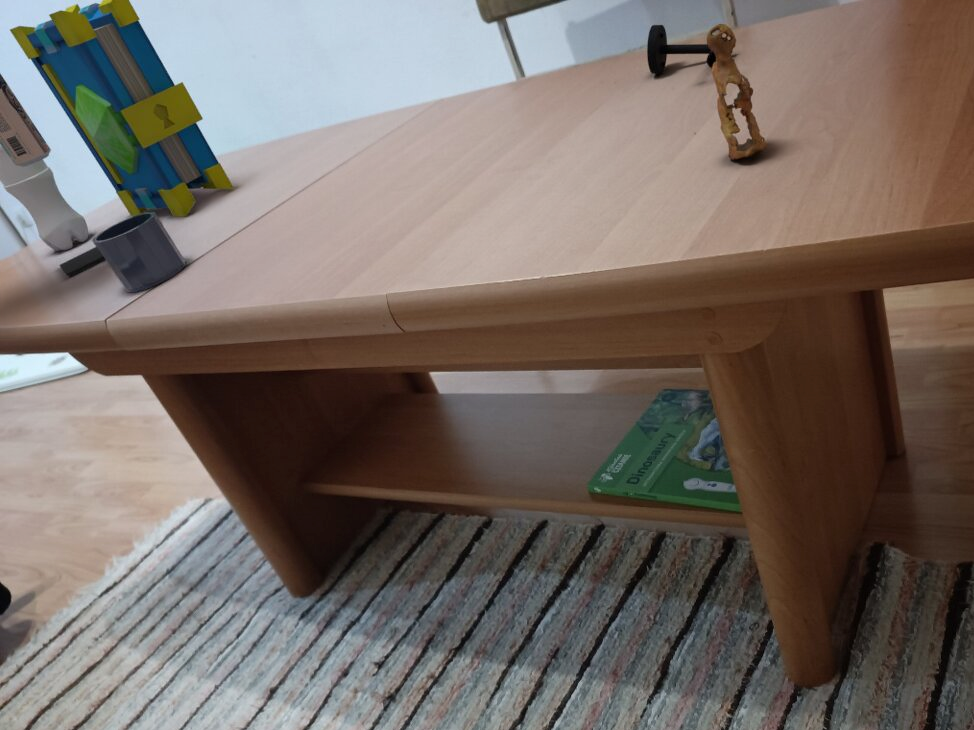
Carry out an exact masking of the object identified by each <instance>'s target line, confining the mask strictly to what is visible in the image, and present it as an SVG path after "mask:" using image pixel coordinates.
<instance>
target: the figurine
mask: <svg viewBox="0 0 974 730" xmlns="http://www.w3.org/2000/svg"><path fill="white" fill-rule="evenodd" d="M717 31H719V32H718V33H716V34H713V33H715V32H717ZM723 35H725V36H723ZM728 38H729V39H728ZM706 44H707V45H708V47H709V48H710V49H711V50H712V51H713V52H714V53H715V56H716V62H715V63H714V64H713V66H712V68H711V75H712V78H713V80H714V83H715V87H716V92H717V94H718V97H717V100H716V107H717V113H718V117H719V120H720V130H721V132H722V134H723V136H724V139H725V140H726V143H727V145H728V155H727V156H728V158H729V159H730V160H732V161H733V160H739V159H743V158H749V157H750V158H751V157H752V156H754V155H755V154H756V153H760V152H763V150H766V147H767V145H768V144H767V142H766V139H765V137H764V136H762V135H761V133H760V132H761V130H760V128H759V124H758V122H757V119H756V116H755V114H754V113H753V112H752V110H753V102H752V96H754V95H753V94H754V88H753V87H751V83H750V80H749V78H748V77H746V76H745V75H743V74H742V73H741V71H740V70H739V68H738V66H737V64H736V61H735V59H734V58H733V55H732V54H731V51H732V49H733V50H734V49H735V47H736V44H737V38H736V35H735V33H734V32H733V29H731V28H730V27H729V25H727V24H725V23H718V24H716V25H714V26H713V27H712V28H711V29H710V30H709V31H708V32H707V35H706ZM728 84H733V85H736V86H737V88H738V93H736V94H737V95H736V98H733V103H732V104H731V103H730V104H728V103H727V102H726V98H725V97H726V96H727V95H728V94H727V86H728ZM733 109H735V110H738V109H740V110H739V113H740V115H742V117H745V122H746V125H747V130H748V134H749V136H750V138H747V139H746V141H745V142H744V143H739V140H738V139H737V137H736V136H735V135H734V134H738V133H740V132H741V129H740V127H739V125H738V123H736V121H737V120H736V118H735V114H734V113H733Z"/></svg>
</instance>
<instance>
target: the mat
mask: <svg viewBox="0 0 974 730" xmlns="http://www.w3.org/2000/svg"><path fill="white" fill-rule="evenodd" d="M104 261H105V259H104V258H103V256H102V255H101V253H100V252H99V250H98V249H97V248H96V246H95V247H92V248H91V249H89V250H86V251H85V252H83V253H81V254H78V255H77V256H74V257H72V258H71V259H68V260H66V261H65V262H62V263H60V264H59V267H60V268H61V269H62V270H63V271H64V273H65V274H66V275H67V276H68V277H69V278H71V277H74V276H76V275H78V274H79V273H82V272H83V271H86V270H88V269H90V268H91V267H94V266H96V265H98V264H99V263H101V262H104Z"/></svg>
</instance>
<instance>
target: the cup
mask: <svg viewBox="0 0 974 730" xmlns="http://www.w3.org/2000/svg"><path fill="white" fill-rule="evenodd" d="M91 242H92V243H93V245H94V246H95V247H96V248H97V249H98V250H99V252H100V253H101V255H102V256H103V258H104V259H105V260H104V261H105V262H106V263H107V265H108V266H109V268H110V269H111V271H112V272H113V273H114V275H115V277H116V279H118V281H119V282H120V284H121V285H122V287H123V288H124V289H125V290H126V292H128V293H138V292H142V291H145V290H148V289H151V288H153V287H156V286H158V285H160V284H162V283H165V282H166V281H168V280H169V279H171V278H173V277H175V276H176V275H177V274H178V273H179V272H181V271H182V270H183V269H184V268H185V266H186V263H187V262H186V260H185V259H186V258H184V256H183V255H182V253H181V251H180V250H179V249H178V247H177V245H176V243H175V242H174V240H173V239H172V237H171V235H170V234H169V233H168V231H167V229H166V228H165V226H164V225H163V223H162V221H161V219H160V218H159V217H158V215H157V213H156V212H154V211H147V212H146V211H145V212H144V213H142V214H138V215H135V216H130V217H128V218H124V219H123V220H121V221H119V222H116V223H114V224H112V225H111V226H109V227H106V228H105V229H104V230H102V231H101V232H99V233H98V234H97V235H95V236H94V237H93V239H92V240H91Z"/></svg>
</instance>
